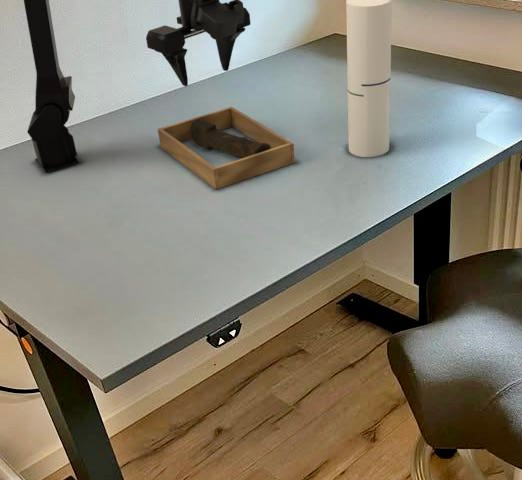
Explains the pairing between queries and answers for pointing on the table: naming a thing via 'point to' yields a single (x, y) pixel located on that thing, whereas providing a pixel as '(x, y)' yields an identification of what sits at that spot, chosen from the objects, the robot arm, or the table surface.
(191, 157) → the wooden rectangular frame
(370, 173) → the table surface
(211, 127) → the dark brown long piece
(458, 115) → the table surface
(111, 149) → the table surface
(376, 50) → the cylindrical container
